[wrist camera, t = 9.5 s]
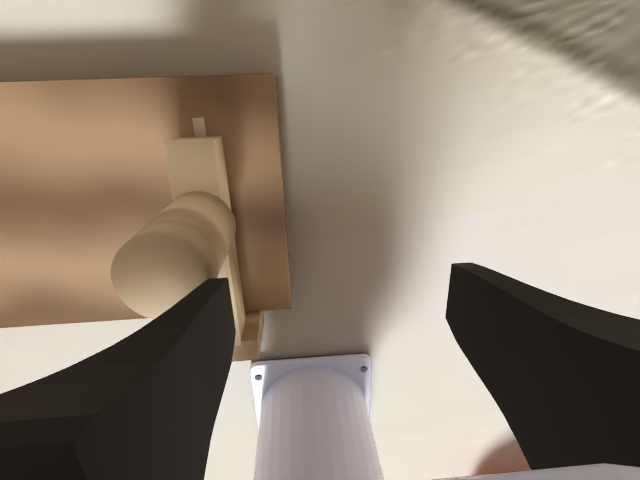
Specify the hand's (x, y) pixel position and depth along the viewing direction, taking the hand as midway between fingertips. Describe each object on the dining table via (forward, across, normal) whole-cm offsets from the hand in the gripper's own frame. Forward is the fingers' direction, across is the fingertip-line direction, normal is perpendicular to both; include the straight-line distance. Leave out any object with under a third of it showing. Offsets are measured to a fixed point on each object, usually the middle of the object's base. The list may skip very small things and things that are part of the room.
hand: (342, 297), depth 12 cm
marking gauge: (+9, +6, 0) cm, 11 cm away
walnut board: (+9, +12, -1) cm, 15 cm away
